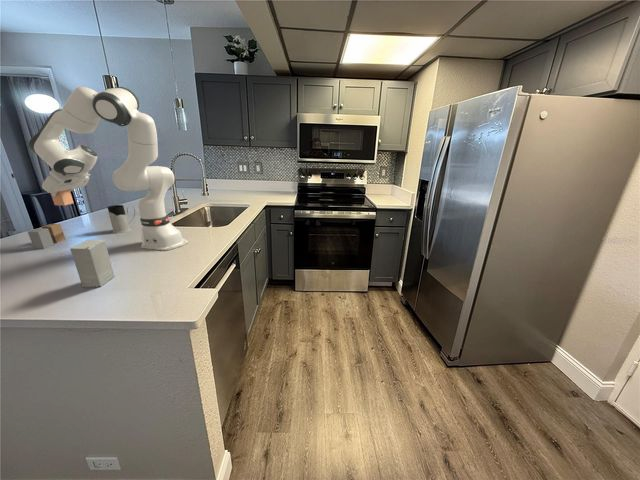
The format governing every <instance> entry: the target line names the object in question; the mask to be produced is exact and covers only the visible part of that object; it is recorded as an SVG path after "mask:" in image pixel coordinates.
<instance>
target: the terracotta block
mask: <svg viewBox="0 0 640 480" xmlns="http://www.w3.org/2000/svg"><path fill="white" fill-rule="evenodd" d="M51 193H52V192H51ZM51 193H50V195H51ZM57 193H58V195H57V196H52V195H51V198H52V201H53V205H54V206H68V205H73V204H75V203H74V200H73V196H72V193H71V192H70V190H63V191H58V192H57Z"/></svg>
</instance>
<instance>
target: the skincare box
mask: <svg viewBox="0 0 640 480" xmlns="http://www.w3.org/2000/svg"><path fill="white" fill-rule="evenodd" d="M69 250H70V253H71V255H72V259H73V261H74V265H75V267H76V271H77V273H78V278H79V280H80V284H81V287H82V288H99V287H98V286H101V287H103V286H104V285H105V284H107V283H108V282H109V281H111V279H113V278H114V277H115V274H114V273H115V272H114V270H113V267H112V262H111V260H110V259H111V258H110V255H109V251H108V247H107V244H106V240H105V239H86V240H84V241H82V242H81V243H79V244H77V245H74V246H72V247H70V249H69ZM103 284H104V285H103ZM95 286H96V287H95Z"/></svg>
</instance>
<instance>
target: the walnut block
mask: <svg viewBox="0 0 640 480" xmlns="http://www.w3.org/2000/svg"><path fill="white" fill-rule="evenodd" d="M41 228H43V229H48V230H49V232H50V235H51V238H52V240H53V243H54V244H59V243H61V242H64V241H67V240H66V237H65V234H64V232H63V231H64V230H63V228H62V224H61V223H49V224H45V225H42V226H41Z"/></svg>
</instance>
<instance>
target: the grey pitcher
mask: <svg viewBox="0 0 640 480" xmlns="http://www.w3.org/2000/svg"><path fill="white" fill-rule="evenodd" d="M130 207H132V208H133V211H134V214H133V217H132V219H131V220H130V221H129V220H128V217H127V215H129V208H130ZM107 211H108V216H109V219H110V223H111V227H112V233H113V234H124V233H128V232H131V230H132V229H131V228H130V224H131V223H132V222H133V220H134V219H135V218H136V212H137V211H136V208H135V207H134V206H132V205H129V206H127V207H126V211H125V207H124V205H123V204H116V205H109V206H107Z"/></svg>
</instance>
